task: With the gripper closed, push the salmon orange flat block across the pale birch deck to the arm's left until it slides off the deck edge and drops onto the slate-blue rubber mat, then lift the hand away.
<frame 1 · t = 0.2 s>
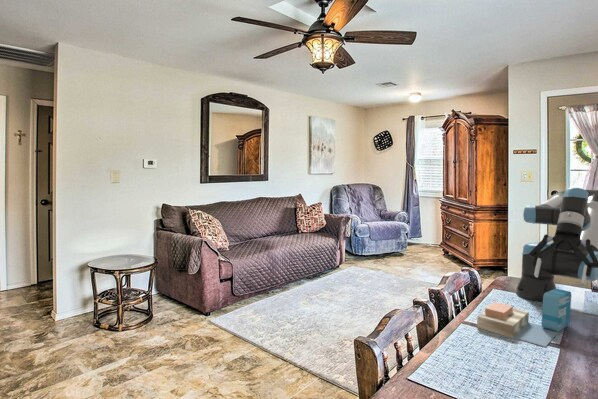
hand: (558, 280, 129), 16 cm above the table, tool tilted 35°, fingers open, 13 cm apart
salmon orange flat block: (498, 312, 130), point 4 cm above the table, touching deck
mat: (536, 334, 122), on the table
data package: (555, 327, 128), on the table, touching mat
deck: (503, 325, 129), on the table
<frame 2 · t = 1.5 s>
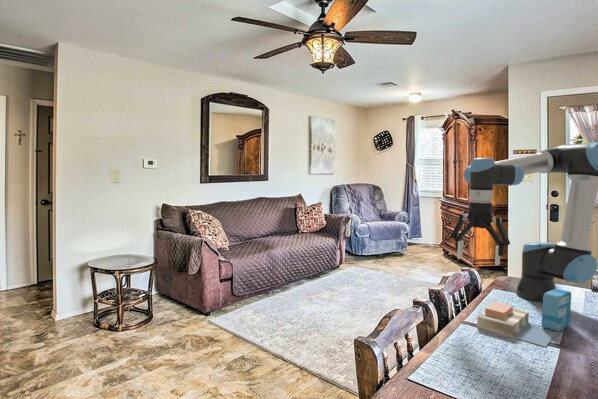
hand: (477, 261, 134), 21 cm above the table, tool pointing down, fingers open, 12 cm apart
nothing on the table moved.
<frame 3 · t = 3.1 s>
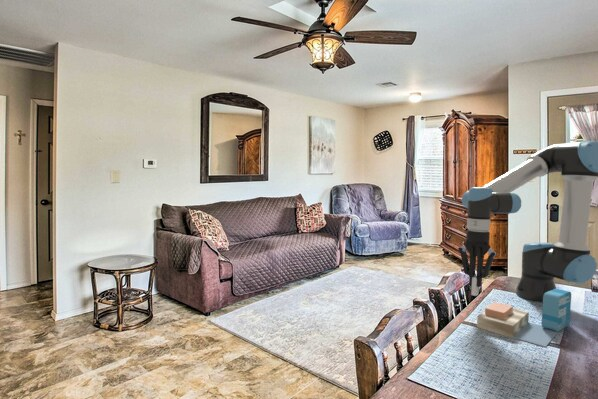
hand: (474, 294, 135), 9 cm above the table, tool pointing down, fingers closed
nothing on the table moved.
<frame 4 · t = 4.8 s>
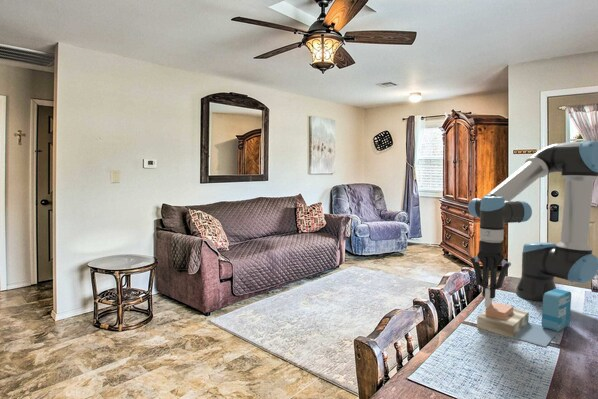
hand: (488, 306, 132), 5 cm above the table, tool pointing down, fingers closed
salmon orange flat block: (499, 312, 130), point 4 cm above the table, touching gripper
everything else where it was.
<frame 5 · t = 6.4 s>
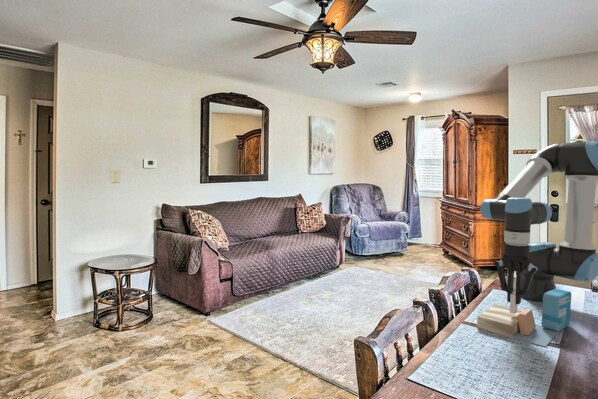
hand: (513, 312, 127), 5 cm above the table, tool pointing down, fingers closed
salmon orange flat block: (523, 321, 124), point 3 cm above the table, tilted 76°, touching mat
everything else where it was.
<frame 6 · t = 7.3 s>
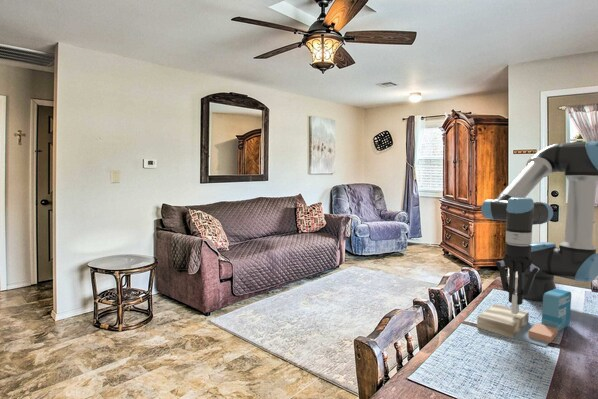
hand: (515, 312, 126), 5 cm above the table, tool pointing down, fingers closed
salmon orange flat block: (543, 329, 120), point 2 cm above the table, tilted 180°, touching mat
everything else where it was.
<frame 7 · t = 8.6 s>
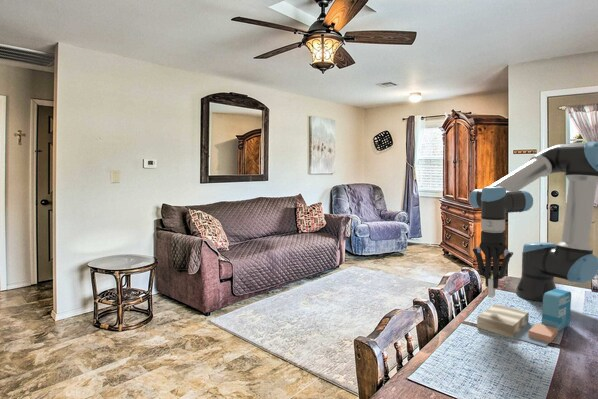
hand: (491, 296, 133), 9 cm above the table, tool pointing down, fingers closed
nothing on the table moved.
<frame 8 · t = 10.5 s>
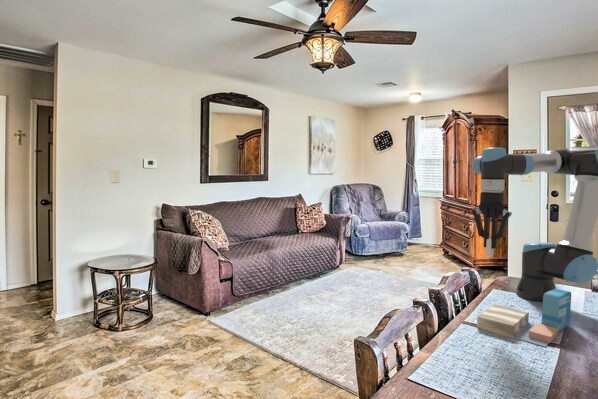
hand: (489, 256, 135), 22 cm above the table, tool pointing down, fingers closed
nothing on the table moved.
at the end: salmon orange flat block point 2.3 cm above the table; salmon orange flat block inside the target area (1.4 cm from its centre), point 2.3 cm above the table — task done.
